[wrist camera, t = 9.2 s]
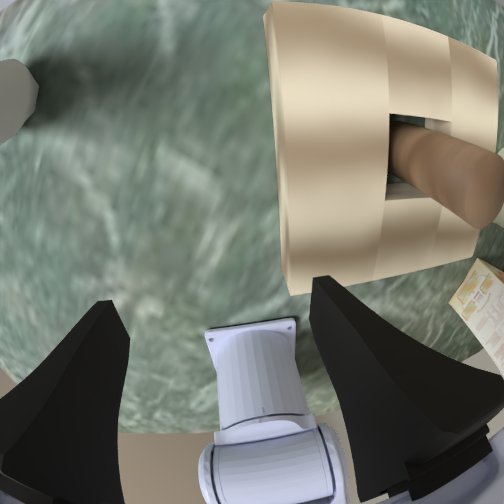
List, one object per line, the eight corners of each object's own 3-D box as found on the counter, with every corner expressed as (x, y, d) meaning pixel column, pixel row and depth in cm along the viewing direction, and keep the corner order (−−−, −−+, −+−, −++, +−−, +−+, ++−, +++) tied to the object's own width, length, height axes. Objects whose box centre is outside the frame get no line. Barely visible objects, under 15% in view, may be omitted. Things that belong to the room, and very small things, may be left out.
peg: (414, 173, 18) (498, 226, 11) (372, 173, 18) (457, 232, 10) (418, 123, 16) (513, 157, 8) (374, 118, 16) (473, 149, 8)
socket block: (454, 241, 22) (472, 256, 20) (281, 270, 21) (290, 295, 19) (471, 58, 13) (496, 60, 10) (262, 16, 12) (272, 1, 9)
